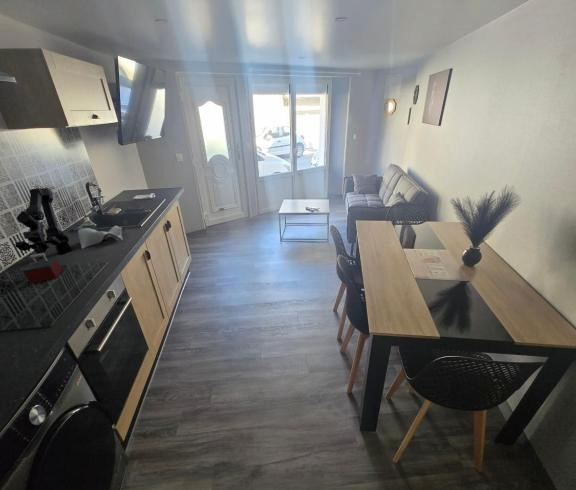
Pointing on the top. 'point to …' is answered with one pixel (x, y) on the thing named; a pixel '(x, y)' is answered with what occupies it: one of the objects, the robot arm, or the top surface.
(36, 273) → the red box
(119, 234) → the grey crumpled fabric piece
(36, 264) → the lid
